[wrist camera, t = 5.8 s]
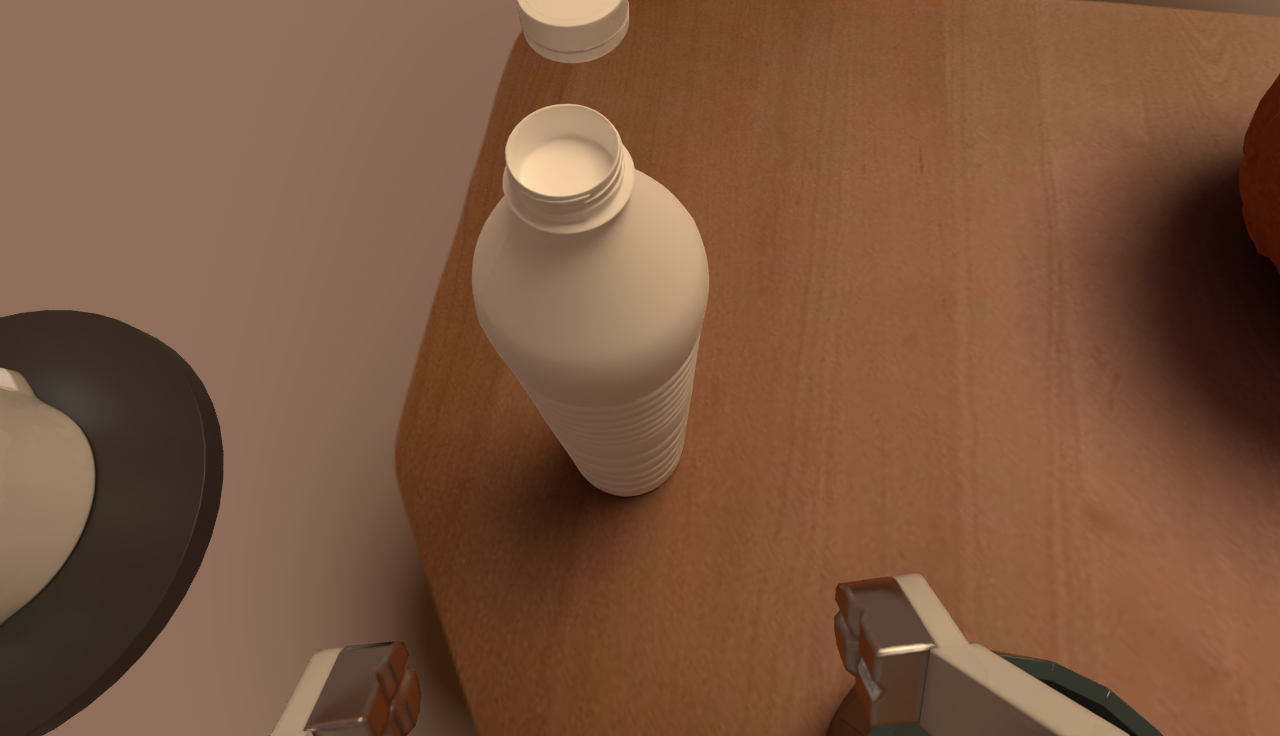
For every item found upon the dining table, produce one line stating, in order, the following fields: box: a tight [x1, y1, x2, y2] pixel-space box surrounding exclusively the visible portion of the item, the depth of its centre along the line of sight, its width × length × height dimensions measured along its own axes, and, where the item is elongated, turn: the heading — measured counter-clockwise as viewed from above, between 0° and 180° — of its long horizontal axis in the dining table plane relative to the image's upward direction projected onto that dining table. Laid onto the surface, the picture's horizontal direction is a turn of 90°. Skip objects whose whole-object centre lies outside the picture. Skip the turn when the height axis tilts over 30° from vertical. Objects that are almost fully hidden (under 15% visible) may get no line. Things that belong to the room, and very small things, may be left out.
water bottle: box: [472, 0, 709, 496], centre depth 23 cm, size 9×6×25 cm
